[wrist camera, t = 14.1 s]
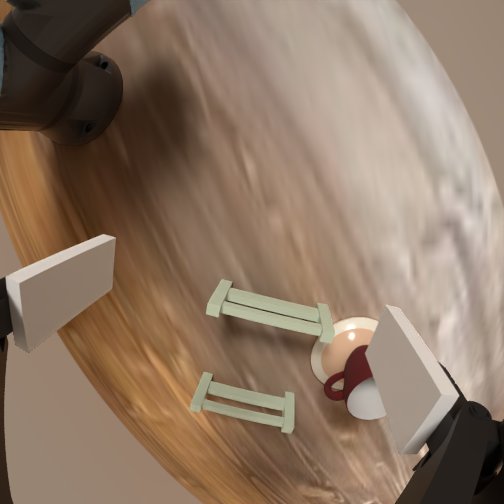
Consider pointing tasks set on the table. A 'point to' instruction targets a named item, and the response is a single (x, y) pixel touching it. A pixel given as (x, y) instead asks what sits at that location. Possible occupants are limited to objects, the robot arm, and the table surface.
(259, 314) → the cradle
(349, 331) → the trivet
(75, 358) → the table surface
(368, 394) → the mug
